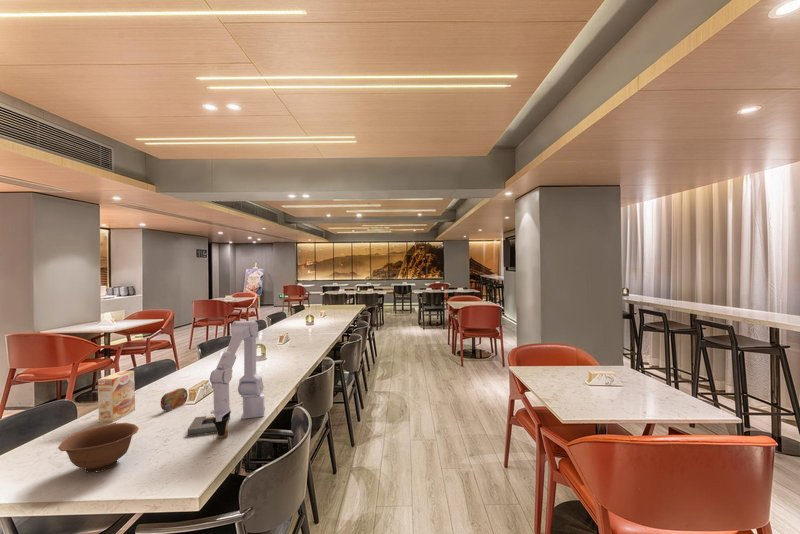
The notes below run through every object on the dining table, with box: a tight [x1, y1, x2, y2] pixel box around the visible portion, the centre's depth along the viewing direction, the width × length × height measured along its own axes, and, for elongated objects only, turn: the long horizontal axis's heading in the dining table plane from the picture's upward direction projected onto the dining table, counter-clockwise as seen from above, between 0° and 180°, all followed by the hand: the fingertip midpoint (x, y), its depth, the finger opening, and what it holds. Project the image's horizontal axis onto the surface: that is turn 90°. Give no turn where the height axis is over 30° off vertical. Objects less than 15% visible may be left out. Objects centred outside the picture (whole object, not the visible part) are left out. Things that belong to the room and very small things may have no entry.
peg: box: [216, 421, 229, 440], centre depth 155 cm, size 4×4×6 cm
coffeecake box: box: [97, 370, 136, 423], centre depth 182 cm, size 15×7×20 cm, turn 0°
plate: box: [187, 414, 231, 437], centre depth 165 cm, size 14×14×3 cm
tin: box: [160, 387, 189, 412], centre depth 191 cm, size 15×3×8 cm, turn 168°
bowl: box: [57, 422, 140, 473], centre depth 134 cm, size 22×22×11 cm
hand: (222, 432), depth 155 cm, fingers open, 4 cm apart
